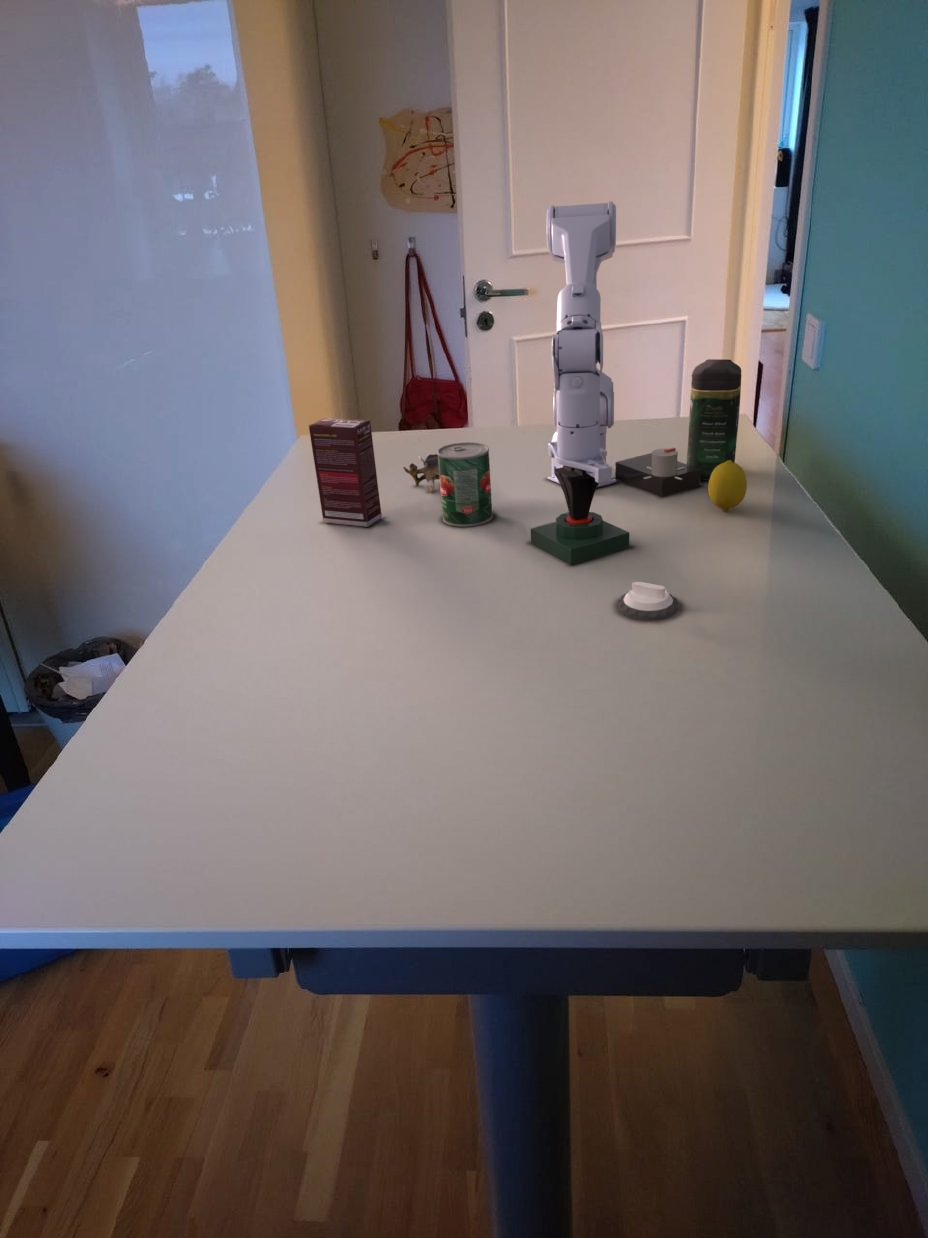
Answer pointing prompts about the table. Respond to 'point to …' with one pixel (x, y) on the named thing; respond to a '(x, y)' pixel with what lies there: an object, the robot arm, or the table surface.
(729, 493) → the lemon
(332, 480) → the supplement box
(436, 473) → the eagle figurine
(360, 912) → the table surface
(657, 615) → the stove knob
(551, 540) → the control block
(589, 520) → the button
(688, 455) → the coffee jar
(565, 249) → the robot arm
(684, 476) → the rotary knob box
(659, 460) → the dial
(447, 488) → the canned tomato
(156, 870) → the table surface
